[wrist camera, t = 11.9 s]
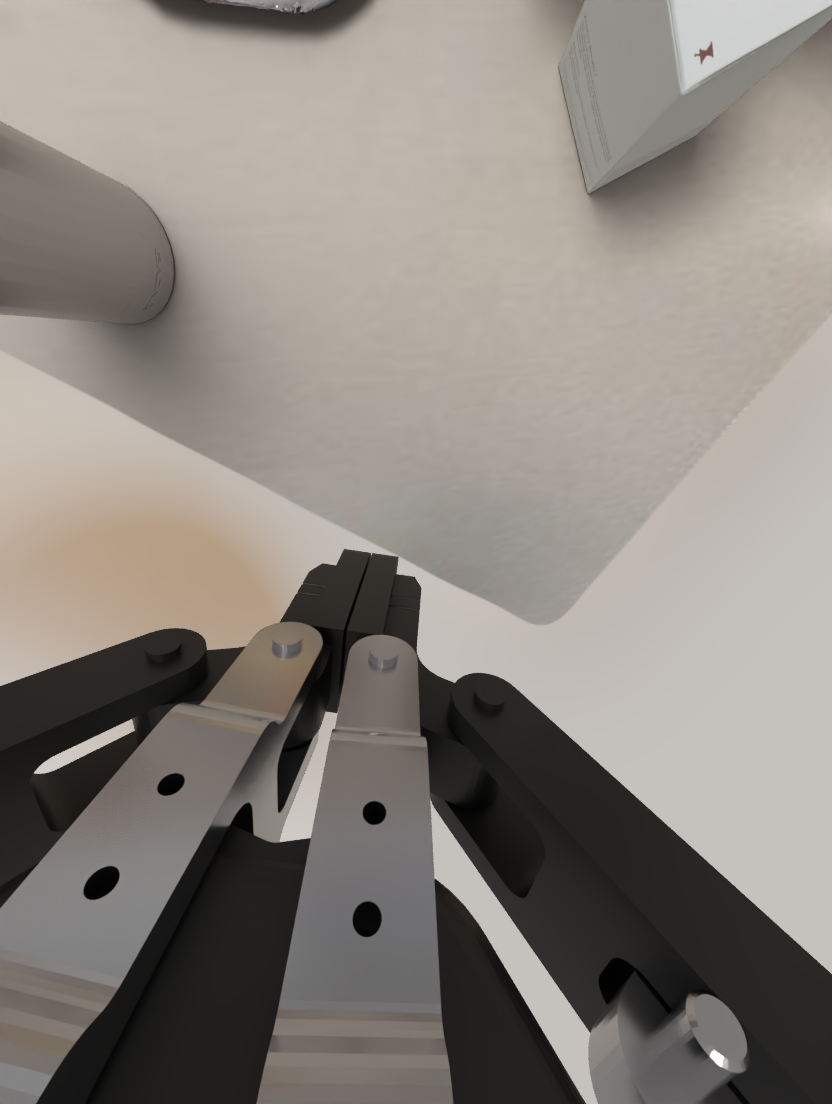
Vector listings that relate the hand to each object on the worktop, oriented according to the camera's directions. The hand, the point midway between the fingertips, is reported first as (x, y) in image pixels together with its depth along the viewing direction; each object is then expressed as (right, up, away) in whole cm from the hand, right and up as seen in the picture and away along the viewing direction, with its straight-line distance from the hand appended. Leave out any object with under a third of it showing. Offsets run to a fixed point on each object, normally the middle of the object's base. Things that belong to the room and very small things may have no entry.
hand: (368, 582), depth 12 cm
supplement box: (+15, +30, +15) cm, 36 cm away
